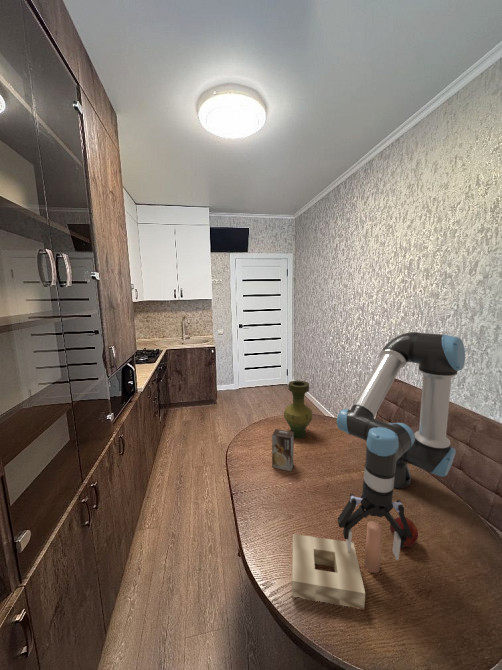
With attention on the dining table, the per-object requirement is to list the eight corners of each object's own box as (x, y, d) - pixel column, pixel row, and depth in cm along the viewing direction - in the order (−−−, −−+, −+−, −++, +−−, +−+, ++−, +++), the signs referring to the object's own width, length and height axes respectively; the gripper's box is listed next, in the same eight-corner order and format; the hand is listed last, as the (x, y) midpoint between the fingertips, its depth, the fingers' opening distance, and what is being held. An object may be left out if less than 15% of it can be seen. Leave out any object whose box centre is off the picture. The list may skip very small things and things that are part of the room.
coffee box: (294, 463, 126) (294, 431, 124) (290, 471, 120) (291, 438, 118) (275, 459, 129) (275, 428, 127) (271, 467, 123) (271, 434, 121)
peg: (377, 560, 80) (380, 522, 78) (381, 574, 76) (384, 534, 74) (362, 558, 80) (365, 520, 79) (366, 572, 77) (369, 532, 75)
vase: (282, 426, 161) (283, 379, 157) (309, 427, 161) (310, 379, 156) (284, 441, 145) (285, 388, 141) (314, 442, 144) (316, 388, 140)
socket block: (352, 557, 81) (353, 542, 80) (364, 610, 67) (365, 593, 67) (292, 547, 84) (292, 533, 83) (291, 597, 70) (292, 580, 69)
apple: (416, 557, 81) (419, 534, 80) (388, 544, 85) (389, 522, 84) (416, 538, 87) (419, 516, 86) (390, 527, 91) (391, 506, 90)
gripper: (419, 480, 76) (411, 546, 79) (331, 470, 80) (326, 533, 83) (432, 500, 69) (423, 572, 72) (334, 487, 73) (329, 556, 76)
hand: (371, 551), depth 77 cm, fingers open, 12 cm apart
